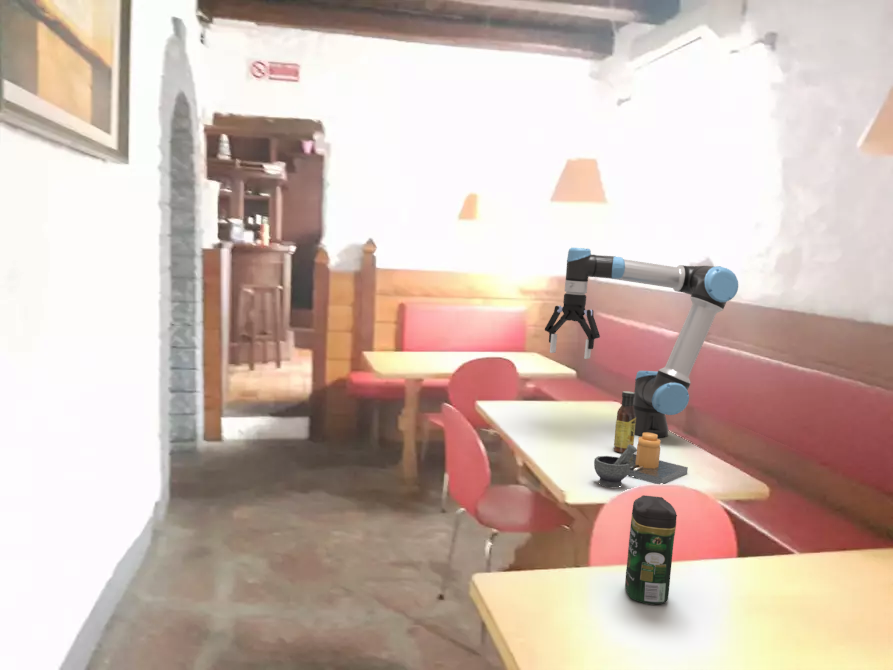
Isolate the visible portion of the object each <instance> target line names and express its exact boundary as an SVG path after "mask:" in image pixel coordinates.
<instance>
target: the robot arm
mask: <svg viewBox="0 0 893 670" xmlns="http://www.w3.org/2000/svg"><path fill="white" fill-rule="evenodd" d="M565 271H566V272H565V282H564V292H565V293H564V294H563V301H562V302H563V306H562V305H555V306H554V310H553V313H552V315H551V316H550V318H549V320H548V322H547V323H546V326H545V327H544V331H545V332H547V333H549V334H548V335H549V337H548V343H549V344H550V345H549V346H550V348H549V353H550V354H553V353H556V351H557V341H558V333H557V332H558V331H559V330H560V328H561V327H562V326H563V325H564V324H565V323H566V322H567V321H573V322H577V323H579V325H580V327H581V329H582V330H583V332H584V333H585V335H586V337H587V339H585V346H584V355H583V357H584V358H583V359H584V360H585V359H587V360H588V359H591V352H592V350H593V349H594V343H595V340H597V339H600V337H601V335H600V332H599V330H598V325H597V323H596V320H595V317H594V310H593V309H586V305H587V295H586V294H587V293H588V285H589V284H588V282H589V278H601V279H611V280H619V281H624V282H631V283H637V284H643V285H644V284H645V285H649V286H650V285H652V286H657V287H662V288H670V289H673V290H674V292H677V293H684V294H686V295H690V301H691V302H692V303H691V306H690V308H689V311H688V314H687V315H686V318H685V320H684V323H683V325H682V327H681V329H680V331H679V334H678V336H677V338H676V341H675V343H674V345H673V348H672V350H671V353H670V355H669V356H668V359H667V361H666V364H665V366H664V367H662V368H659V369H658V371H657V370H656V371H655V370H654V371H653V370H638V371H637V372H636V376H635V379H634V380H635V381H634V382H635V384H634V393H635V397H634V403H633V404H634V405H633V406H634V410H635V414H636V424H635V435H636V436H639V437H642V434H643V433H645V432H648V433H654V434H657V435H658V437H657V438H665V437H664V436H666V437H668V436H667V435H668V434H669V426H668V421H667V416H674V415H678V414H680V413H682V412H683V411H685V409H686V407H687V406H688V404H689V402H690V395H689V391H688V390H689V388H690V386H691V379H690V375H691V373H692V369H693V367H694V365H695V363H696V361H697V359H698V356H699V353H700V351H701V349H702V347H703V345H704V343H705V341H706V338H707V336H708V333H709V331H710V329H711V327H712V325H713V322H714V320H715V317H716V315H717V314H718V313H720V312H722V311H724V309H725V306H726V305H727V302H728V301H731V300H733V299H734V298H735V296H736V295H737V293H738V290H739V280H738V278H737V276H736V274H735V273H734V271H732V270H731V269H729V268H727V267H724V266H718V265H717V266H716V265H714V266H713V265H712V266H711V265H681V264H680V265H678V266H670V265H664V264H659V263H658V264H657V263H651V262H650V263H649V262H643V261H638V260H637V261H636V260H631V259H625V258H623V257H621V256H616V255H615V256H614V255H597V254H592V253H591V249H590V248H585V247H582V248H581V247H571V248H569V249H568V252H567V258H566V269H565ZM561 313H563V314H562V315H561ZM560 315H561V316H560ZM559 316H560V317H559ZM584 316H586V318H585V317H584ZM558 318H559V319H558ZM586 319H587V320H586ZM587 321H588V322H587Z"/></svg>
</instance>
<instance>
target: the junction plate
mask: <svg viewBox="0 0 893 670" xmlns="http://www.w3.org/2000/svg"><path fill="white" fill-rule="evenodd" d="M629 462H630V470H629V473H628V474H627V475H630V476H634V477H637V478H636V479H638V478H640V479H639V480H641V479H643V480H642V481H645V480H646V482H649V483H654V484H656V483H664V484H667V483H669V482H671V481H673V480H675V479H678V478H681V477H682V476H685V475H687V474H688V469H689V468H688V466H685V465H680V464H676V463H672V462H668V461H664V460H661V459H659V466H658V467H657V468H644V467H643V466H639V465H637V464H635V463H636V454H635V453H634V454H633V455H632V457H631V458H630V460H629ZM630 476H629V477H630ZM634 477H633V478H634Z"/></svg>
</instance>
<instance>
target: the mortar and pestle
mask: <svg viewBox="0 0 893 670" xmlns="http://www.w3.org/2000/svg"><path fill="white" fill-rule="evenodd" d="M635 453H637V447H635V445H631V444H629V445H628V446H627V449H626V450H625V451H624V452H623V453H621V455H619V456H612V455H611V456H609V455H600V456H596V457H595V458H594V461H593V464H594V466H593V467H594V471H595V473H596V475H597V476H598V477H599V480H598V484H599V483H600V484H601V485H600V484H599V485H600V486H602V485H603V486H602V487H605V486H606V487H605V488H610V487H619V486H621V485H622V481H623V480H624V479H625V478H626V477H627V474H628V473H629V470H630V462H629V460H630V458H631V457H632V455H633V454H635ZM621 487H622V486H621Z"/></svg>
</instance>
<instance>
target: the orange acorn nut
mask: <svg viewBox="0 0 893 670" xmlns="http://www.w3.org/2000/svg"><path fill="white" fill-rule="evenodd" d="M636 444H637V446H636V449H637V451H636V452H635V453H636V463H635V464H637V465H639V466H643V467H644V468H657V467H658V466H659V460H660V456H661V455H660V454H661V439H660V438H659V437H658V435H657V434H654V433H648V432H645V433H643V434H642V436H639V437H638V441H637V443H636Z"/></svg>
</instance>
